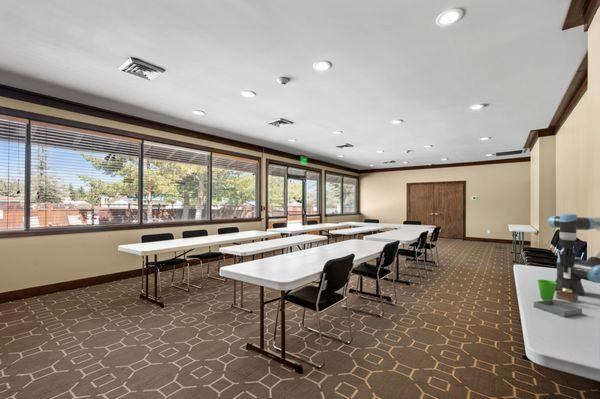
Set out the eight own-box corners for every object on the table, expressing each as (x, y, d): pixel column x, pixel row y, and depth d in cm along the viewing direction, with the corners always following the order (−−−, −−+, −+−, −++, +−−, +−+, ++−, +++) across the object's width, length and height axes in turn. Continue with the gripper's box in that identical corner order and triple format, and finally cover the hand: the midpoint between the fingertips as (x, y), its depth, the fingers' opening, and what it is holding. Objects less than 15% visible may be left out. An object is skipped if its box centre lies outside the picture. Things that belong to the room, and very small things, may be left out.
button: (565, 292, 174) (565, 287, 174) (573, 294, 169) (573, 289, 169) (560, 292, 172) (560, 287, 172) (569, 295, 168) (569, 290, 168)
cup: (560, 303, 164) (561, 284, 164) (542, 301, 166) (543, 283, 166) (550, 297, 173) (550, 280, 173) (533, 296, 175) (533, 278, 175)
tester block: (563, 297, 175) (563, 290, 175) (577, 300, 169) (577, 294, 169) (556, 298, 173) (556, 291, 173) (570, 302, 166) (570, 295, 166)
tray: (550, 304, 161) (550, 299, 161) (582, 314, 148) (582, 308, 148) (533, 307, 157) (533, 301, 157) (564, 317, 143) (564, 311, 143)
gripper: (567, 238, 177) (566, 275, 176) (553, 238, 172) (552, 277, 172) (582, 240, 169) (581, 279, 169) (568, 240, 165) (567, 280, 165)
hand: (566, 278), depth 171 cm, fingers closed
